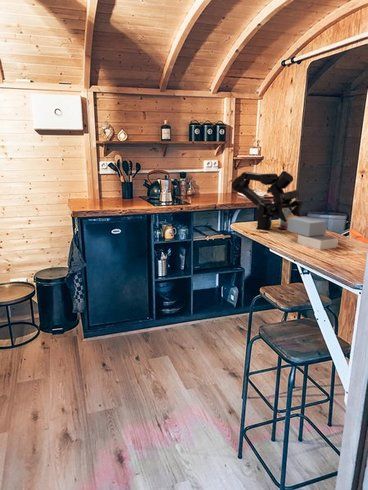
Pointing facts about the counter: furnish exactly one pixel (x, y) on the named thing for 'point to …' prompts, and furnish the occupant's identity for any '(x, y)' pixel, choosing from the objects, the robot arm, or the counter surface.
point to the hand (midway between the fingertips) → (292, 220)
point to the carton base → (318, 241)
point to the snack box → (286, 212)
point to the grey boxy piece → (306, 225)
